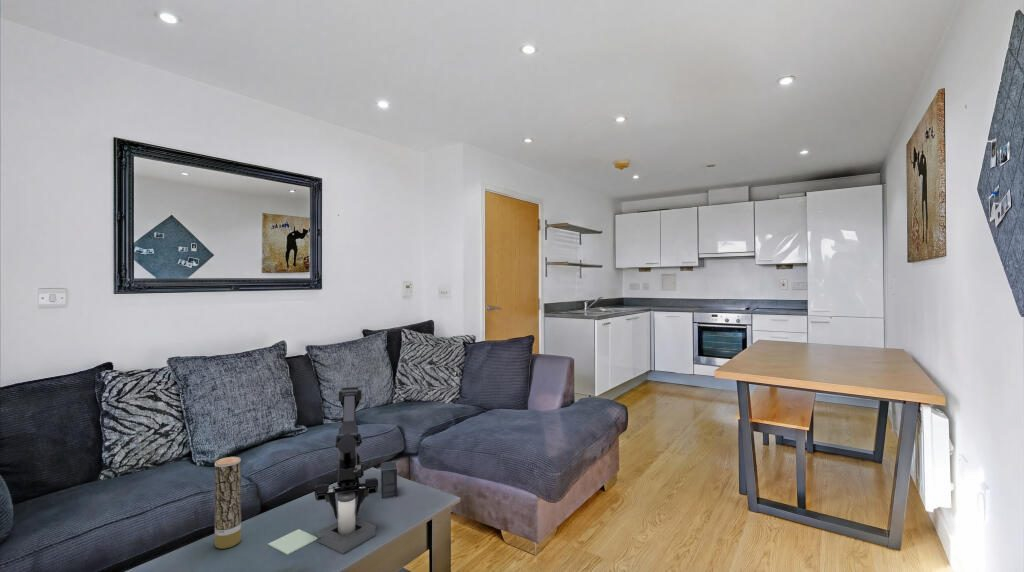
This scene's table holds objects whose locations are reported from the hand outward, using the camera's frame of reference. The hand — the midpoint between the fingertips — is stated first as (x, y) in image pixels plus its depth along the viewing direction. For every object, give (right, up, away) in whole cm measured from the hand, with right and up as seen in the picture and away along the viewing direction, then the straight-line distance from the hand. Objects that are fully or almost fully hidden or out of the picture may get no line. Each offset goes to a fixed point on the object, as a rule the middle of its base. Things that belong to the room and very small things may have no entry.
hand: (346, 517), depth 143 cm
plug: (0, -7, +1) cm, 7 cm away
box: (+4, -7, +33) cm, 34 cm away
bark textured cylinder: (-35, -8, -1) cm, 36 cm away
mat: (-16, -7, -1) cm, 18 cm away
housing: (0, -7, +1) cm, 7 cm away
